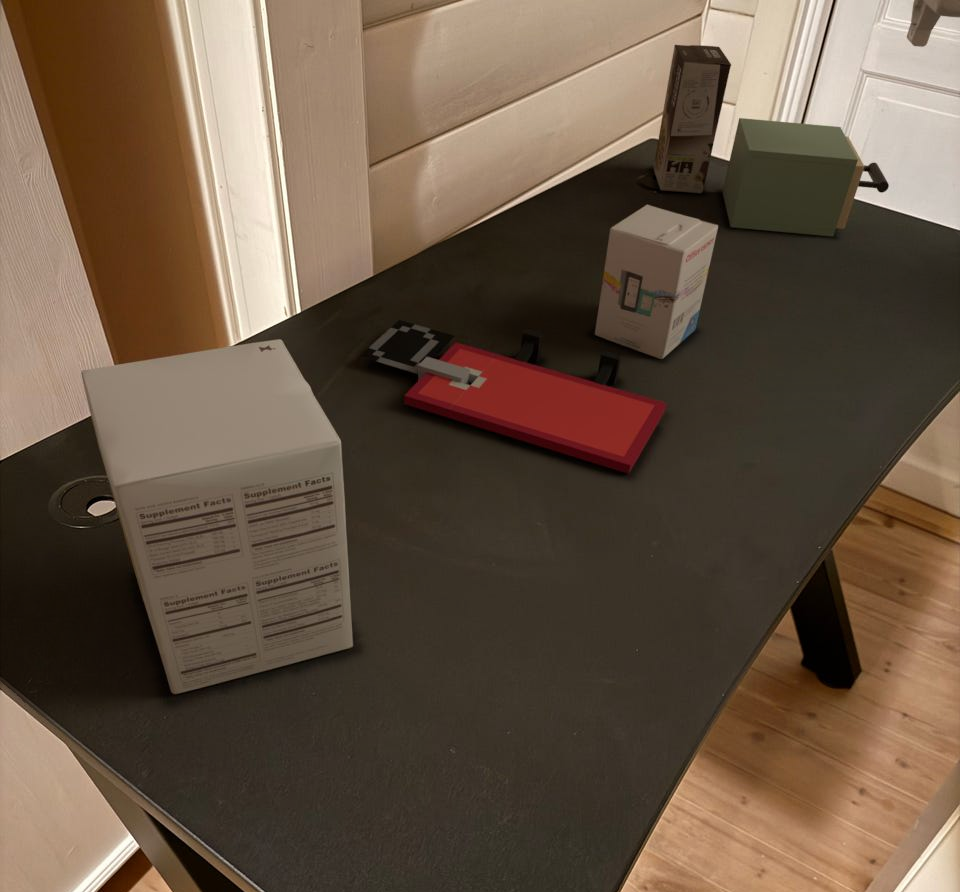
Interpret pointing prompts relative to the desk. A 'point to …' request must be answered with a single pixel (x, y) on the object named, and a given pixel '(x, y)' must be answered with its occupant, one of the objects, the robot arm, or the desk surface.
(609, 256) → the ink box
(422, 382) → the red board with handle
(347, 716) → the desk surface
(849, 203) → the drawer
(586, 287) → the desk surface
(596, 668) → the desk surface
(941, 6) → the robot arm
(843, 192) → the cabinet
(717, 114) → the coffee box
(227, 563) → the supplement box
